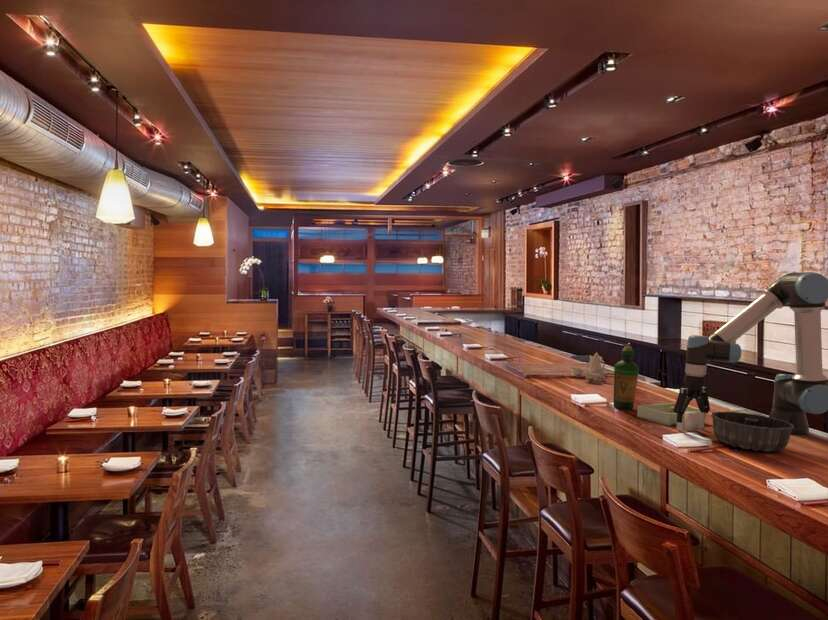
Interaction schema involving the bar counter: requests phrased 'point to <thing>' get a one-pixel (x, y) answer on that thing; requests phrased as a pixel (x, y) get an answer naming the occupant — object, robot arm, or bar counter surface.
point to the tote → (660, 413)
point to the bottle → (625, 380)
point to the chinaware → (591, 369)
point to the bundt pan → (751, 431)
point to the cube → (673, 409)
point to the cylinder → (691, 421)
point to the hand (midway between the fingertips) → (690, 429)
